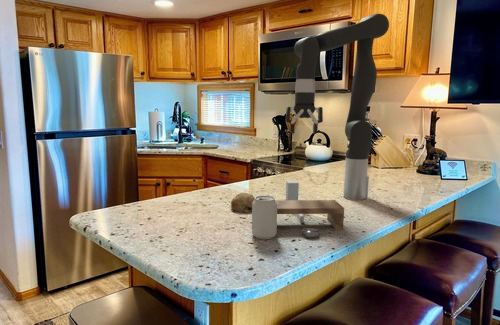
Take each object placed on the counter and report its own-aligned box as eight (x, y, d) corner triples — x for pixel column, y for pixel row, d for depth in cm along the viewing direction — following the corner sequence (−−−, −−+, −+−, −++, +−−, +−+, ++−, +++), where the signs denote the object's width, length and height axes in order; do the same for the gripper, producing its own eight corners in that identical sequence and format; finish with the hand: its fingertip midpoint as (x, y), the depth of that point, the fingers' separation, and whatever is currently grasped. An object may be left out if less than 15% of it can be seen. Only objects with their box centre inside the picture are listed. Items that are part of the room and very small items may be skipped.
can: (250, 231, 114) (251, 194, 113) (274, 231, 115) (275, 194, 113) (252, 240, 107) (253, 200, 105) (278, 240, 108) (279, 200, 106)
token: (316, 233, 114) (317, 228, 114) (320, 239, 109) (320, 233, 109) (300, 233, 114) (301, 228, 114) (303, 239, 109) (304, 233, 109)
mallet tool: (295, 205, 145) (296, 180, 143) (307, 222, 124) (308, 193, 123) (285, 205, 145) (286, 180, 143) (296, 222, 124) (297, 193, 122)
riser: (333, 219, 128) (334, 200, 127) (343, 229, 118) (344, 208, 117) (265, 220, 126) (265, 200, 125) (268, 230, 116) (269, 208, 115)
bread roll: (235, 221, 136) (239, 205, 131) (225, 204, 143) (229, 187, 139) (258, 218, 140) (263, 202, 136) (247, 201, 148) (252, 185, 143)
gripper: (320, 92, 146) (318, 133, 149) (285, 91, 145) (284, 132, 148) (325, 91, 139) (323, 134, 141) (288, 91, 138) (287, 134, 140)
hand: (303, 133), depth 144 cm, fingers open, 8 cm apart
